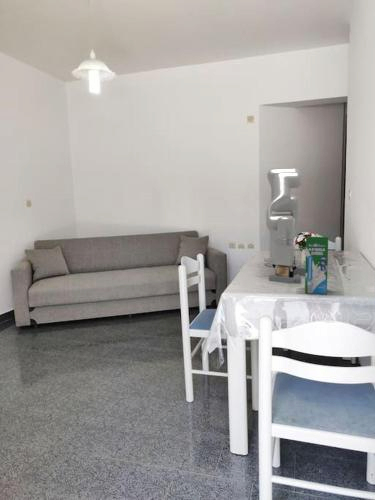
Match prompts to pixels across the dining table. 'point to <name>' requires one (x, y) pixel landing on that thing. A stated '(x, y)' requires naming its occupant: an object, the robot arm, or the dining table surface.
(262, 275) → the dining table surface
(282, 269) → the block
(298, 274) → the bay
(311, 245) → the milk carton
